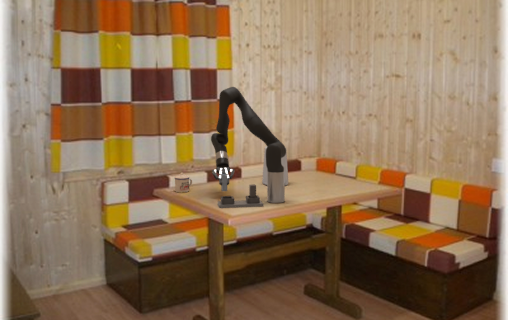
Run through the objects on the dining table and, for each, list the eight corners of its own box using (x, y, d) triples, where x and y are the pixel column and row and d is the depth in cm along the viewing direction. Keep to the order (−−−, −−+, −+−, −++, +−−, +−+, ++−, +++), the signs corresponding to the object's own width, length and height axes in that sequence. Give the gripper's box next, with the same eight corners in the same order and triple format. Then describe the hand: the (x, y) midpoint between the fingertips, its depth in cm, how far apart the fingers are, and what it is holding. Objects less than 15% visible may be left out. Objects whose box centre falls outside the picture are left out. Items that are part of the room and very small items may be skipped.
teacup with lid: (180, 193, 327) (180, 174, 325) (171, 191, 334) (171, 172, 332) (196, 190, 335) (196, 172, 334) (187, 188, 342) (187, 170, 340)
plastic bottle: (290, 185, 351) (291, 143, 347) (269, 187, 346) (269, 144, 342) (280, 181, 365) (281, 140, 361) (260, 183, 360) (260, 141, 356)
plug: (226, 189, 314) (226, 173, 312) (227, 191, 310) (227, 174, 309) (221, 190, 313) (220, 174, 312) (221, 191, 310) (221, 175, 308)
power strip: (260, 202, 303) (260, 183, 301) (263, 206, 293) (263, 186, 291) (217, 203, 299) (217, 184, 297) (219, 208, 289) (219, 187, 288)
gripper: (210, 157, 315) (212, 181, 305) (234, 156, 318) (237, 180, 307) (209, 164, 321) (212, 188, 311) (233, 163, 324) (236, 187, 313)
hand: (224, 184), depth 309 cm, fingers closed on plug, 3 cm apart
